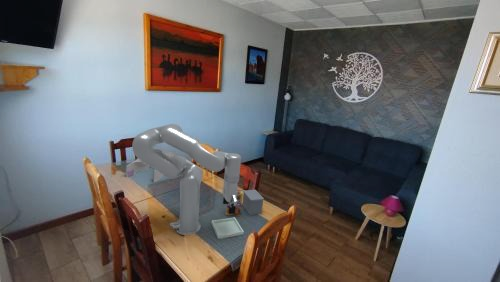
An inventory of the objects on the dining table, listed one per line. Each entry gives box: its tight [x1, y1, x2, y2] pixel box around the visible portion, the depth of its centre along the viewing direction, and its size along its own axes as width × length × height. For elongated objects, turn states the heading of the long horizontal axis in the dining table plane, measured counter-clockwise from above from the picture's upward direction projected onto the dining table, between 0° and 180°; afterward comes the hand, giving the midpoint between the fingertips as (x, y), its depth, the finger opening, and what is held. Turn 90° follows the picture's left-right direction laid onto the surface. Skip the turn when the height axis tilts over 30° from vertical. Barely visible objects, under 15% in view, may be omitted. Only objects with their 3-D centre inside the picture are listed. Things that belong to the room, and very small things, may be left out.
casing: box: [125, 147, 165, 183], centre depth 178 cm, size 28×23×20 cm
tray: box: [211, 216, 245, 240], centre depth 122 cm, size 14×14×2 cm
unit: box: [241, 189, 265, 216], centre depth 143 cm, size 9×13×11 cm
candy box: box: [224, 189, 244, 217], centre depth 136 cm, size 9×4×15 cm, turn 89°
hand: (228, 208), depth 120 cm, fingers open, 9 cm apart
